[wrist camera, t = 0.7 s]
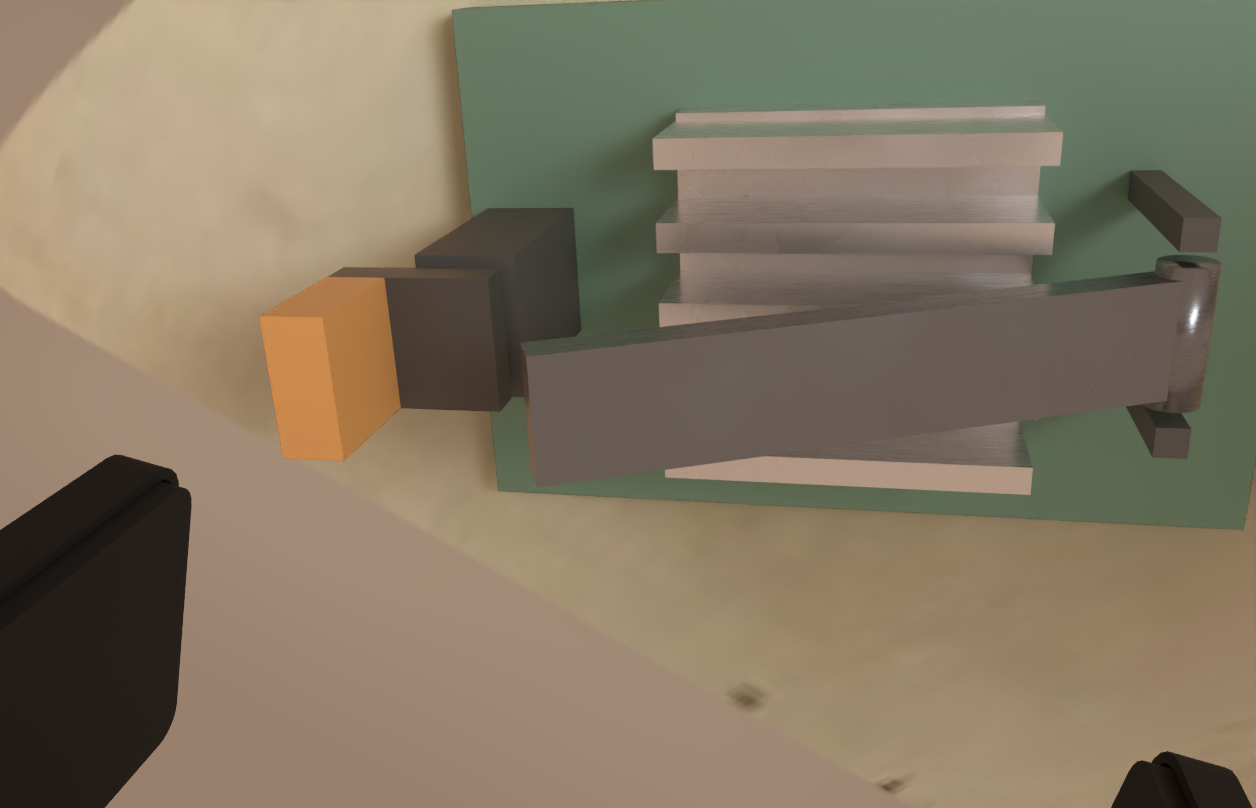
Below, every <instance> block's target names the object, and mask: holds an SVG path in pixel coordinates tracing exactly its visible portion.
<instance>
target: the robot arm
mask: <svg viewBox="0 0 1256 808" xmlns="http://www.w3.org/2000/svg"><path fill="white" fill-rule="evenodd" d="M190 517H191V495H190V492H189V491H188V490H187V489H185V488H182V487H179V482H178V479H177V475H176V473H175V472H174V471H173V470H171V469H169V468H165V467H161V466H158V465H154V464H151V463H147V462H144V461H140V460H137V459H133V458H130V457H126V456H123V455H113V456H111V457H108V458H106V459H105V460H103V461H102V462H101V463H99V464H98V465H96V466H95V467H93V468H92V469H90V470H89V471H87V472H86V473H84V474H83V475H81V476H80V477H79V478H77V479H75V480H74V481H72V482H71V483H69V484H68V485H67V486H65V487H63V488H62V489H61V490H59V491H58V492H56V493H55V494H53V495H52V496H50V497H49V498H47V499H46V500H44V501H43V502H41V503H40V504H38V505H37V506H35V507H34V508H32V509H31V510H29V511H28V512H26V513H25V514H23V515H22V516H20V517H19V518H18V519H16V520H15V521H13V522H12V523H10V524H9V525H7V526H6V527H4V528H3V529H1V530H0V808H105V807H106V806H107V804H108V803H109V802H110V801H111V800H112V799H113V798H114V796H115V795H116V794H117V793H118V792H119V791H120V789H121V788H122V787H123V786H124V785H125V784H126V783H127V781H128V780H129V779H130V778H131V777H132V776H133V774H134V773H135V772H136V771H137V770H138V769H139V767H140V766H141V765H142V764H143V763H144V762H145V761H146V759H147V758H148V757H149V756H150V755H151V754H152V753H153V751H154V750H155V749H156V748H157V747H158V746H159V744H160V743H161V742H162V740H163V739H164V737H165V736H166V734H167V732H168V730H169V728H170V726H171V723H172V721H173V718H174V715H175V711H176V705H177V693H178V680H179V679H178V677H179V666H180V652H181V639H182V626H183V612H184V599H185V585H186V572H187V557H188V545H189V544H188V543H189V531H190ZM1111 808H1252V806H1251V804H1250V802H1249V800H1248V798H1247V796H1246V794H1245V792H1244V790H1243V788H1242V786H1241V784H1240V782H1239V780H1238V778H1237V777H1236V776H1235V774H1234V773H1233V771H1231V770H1229V769H1227V768H1225V767H1221V766H1218V765H1214V764H1211V763H1207V762H1204V761H1200V760H1196V759H1193V758H1189V757H1186V756H1182V755H1179V754H1175V753H1172V752H1168V751H1167V752H1162V753H1160V754H1159V755H1158V756H1157V757H1155V758H1154V760H1153V761H1152V763H1150V762H1146V761H1138V762H1136V763H1135V764H1134V765H1133V766H1132V768H1131V769H1130V771H1129V772H1128V774H1127V776H1126V778H1125V780H1124V782H1123V784H1122V787H1121V789H1120V791H1119V793H1118V795H1117V797H1116V799H1115V801H1114V803H1113V805H1112V807H1111Z"/></svg>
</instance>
